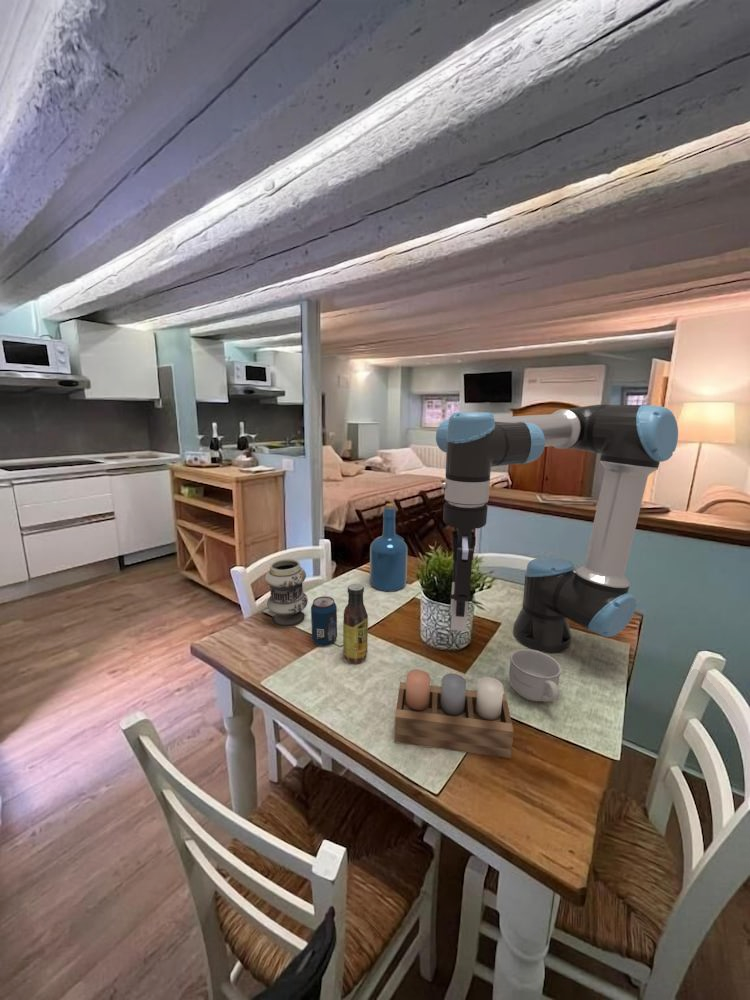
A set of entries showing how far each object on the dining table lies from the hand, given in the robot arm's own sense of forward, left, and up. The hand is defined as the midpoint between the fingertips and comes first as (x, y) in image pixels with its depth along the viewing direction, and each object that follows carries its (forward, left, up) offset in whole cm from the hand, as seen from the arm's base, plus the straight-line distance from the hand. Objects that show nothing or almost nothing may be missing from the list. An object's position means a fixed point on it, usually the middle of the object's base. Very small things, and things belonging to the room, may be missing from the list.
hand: (457, 621), depth 77 cm
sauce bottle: (+24, -20, -25) cm, 40 cm away
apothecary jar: (+48, -35, -25) cm, 64 cm away
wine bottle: (+21, -64, -25) cm, 72 cm away
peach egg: (+7, 0, -19) cm, 20 cm away
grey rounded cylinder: (0, 0, -19) cm, 19 cm away
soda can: (+34, -26, -25) cm, 50 cm away
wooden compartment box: (0, 0, -25) cm, 25 cm away
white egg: (-7, 0, -19) cm, 20 cm away
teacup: (-19, -13, -25) cm, 34 cm away
